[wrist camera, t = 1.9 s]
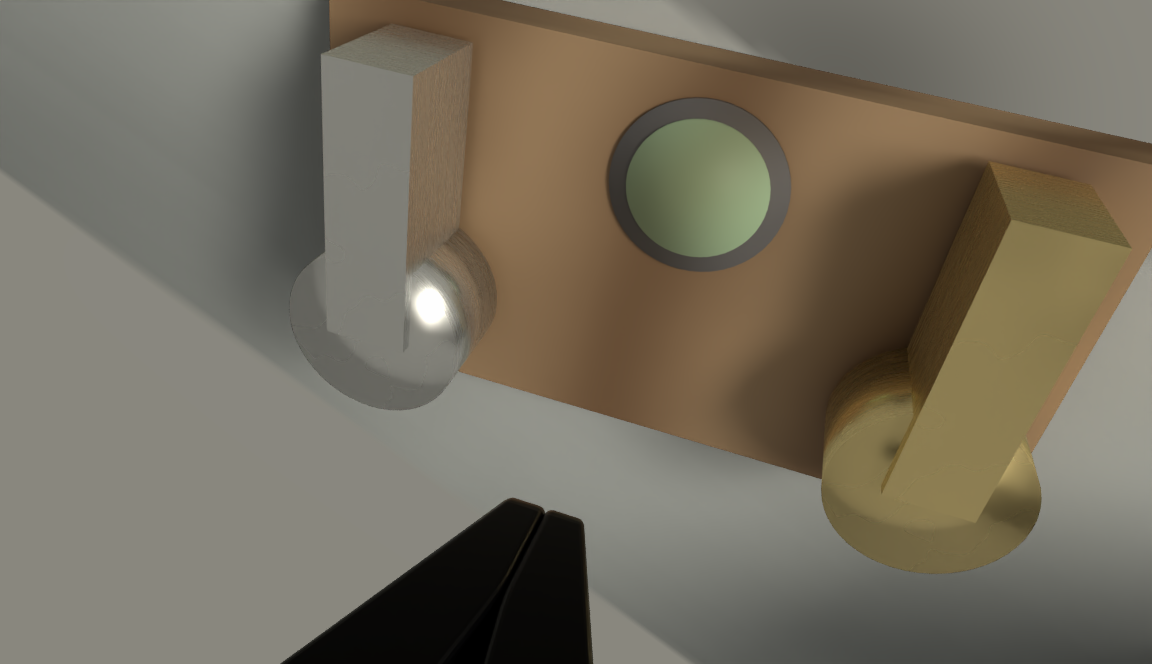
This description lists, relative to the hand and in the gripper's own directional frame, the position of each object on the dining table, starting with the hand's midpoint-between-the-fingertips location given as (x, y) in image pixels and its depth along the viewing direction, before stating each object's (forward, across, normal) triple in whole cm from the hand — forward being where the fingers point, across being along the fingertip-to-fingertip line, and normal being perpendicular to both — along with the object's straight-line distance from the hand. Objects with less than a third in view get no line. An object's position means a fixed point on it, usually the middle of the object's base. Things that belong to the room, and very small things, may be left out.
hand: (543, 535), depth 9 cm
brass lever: (+10, -6, +2) cm, 12 cm away
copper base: (+12, 0, +2) cm, 12 cm away
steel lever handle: (+10, +6, +2) cm, 12 cm away
